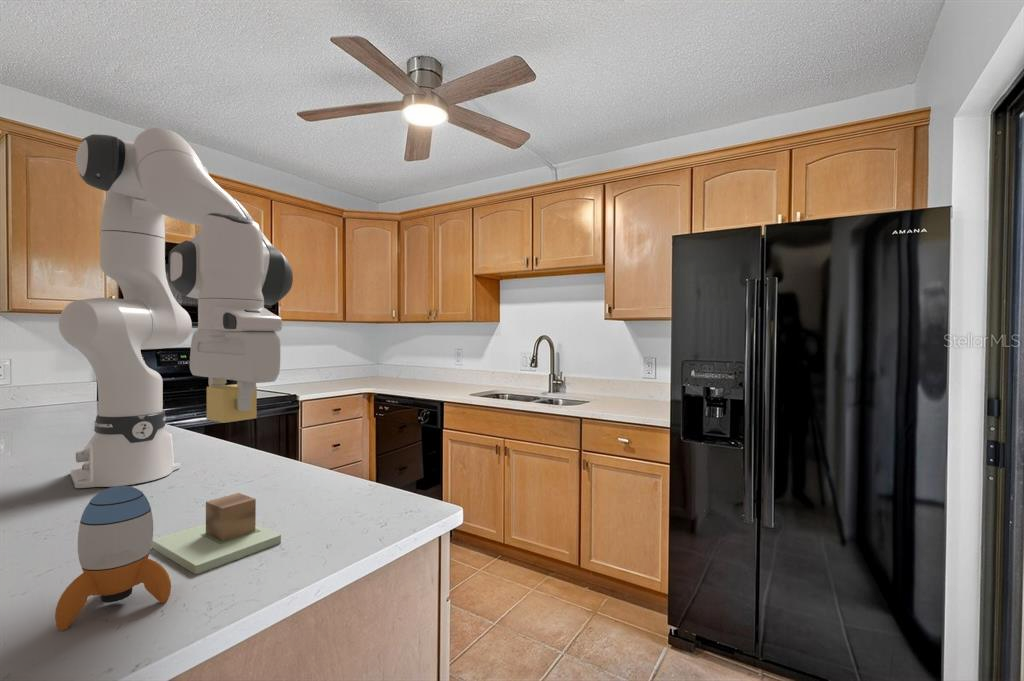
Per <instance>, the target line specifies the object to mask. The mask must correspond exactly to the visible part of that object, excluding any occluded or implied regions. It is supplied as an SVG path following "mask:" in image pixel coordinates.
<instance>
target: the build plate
mask: <svg viewBox="0 0 1024 681" xmlns="http://www.w3.org/2000/svg"><path fill="white" fill-rule="evenodd" d="M281 543H282V535H281V534H280V533H278V532H275V531H272V530H271V529H270V530H269V529H268V528H265V527H263V526H260V525H259V524H255V531H253V532H250V533H247V534H244V535H241V536H238V537H235V538H232V539H229V540H226V541H223V542H221V541H219V540H217V539H215V538H213V537H211V536H209V535H207V534H206V523H203V524H199V525H197V526H194V527H189V528H186V529H183V530H180V531H176V532H174V533H170V534H167V535H163V536H159V537H156V538H153V540H152V546H151V549H152V550H154V551H156V552H158V553H159V554H161V555H162V556H164V557H166V558H168V559H169V560H171V561H173V562H174V563H175V564H178V565H179V566H181V567H183V568H184V569H186V570H188V571H189V572H191V573H192V574H194V575H199V574H202V573H204V572H207V571H210V570H212V569H215V568H218V567H221V566H223V565H225V564H229V563H230V562H233V561H237V560H239V559H241V558H244V557H247V556H250V555H252V554H254V553H258V552H260V551H263V550H265V549H268V548H270V547H273V546H277V545H278V544H281Z"/></svg>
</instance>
